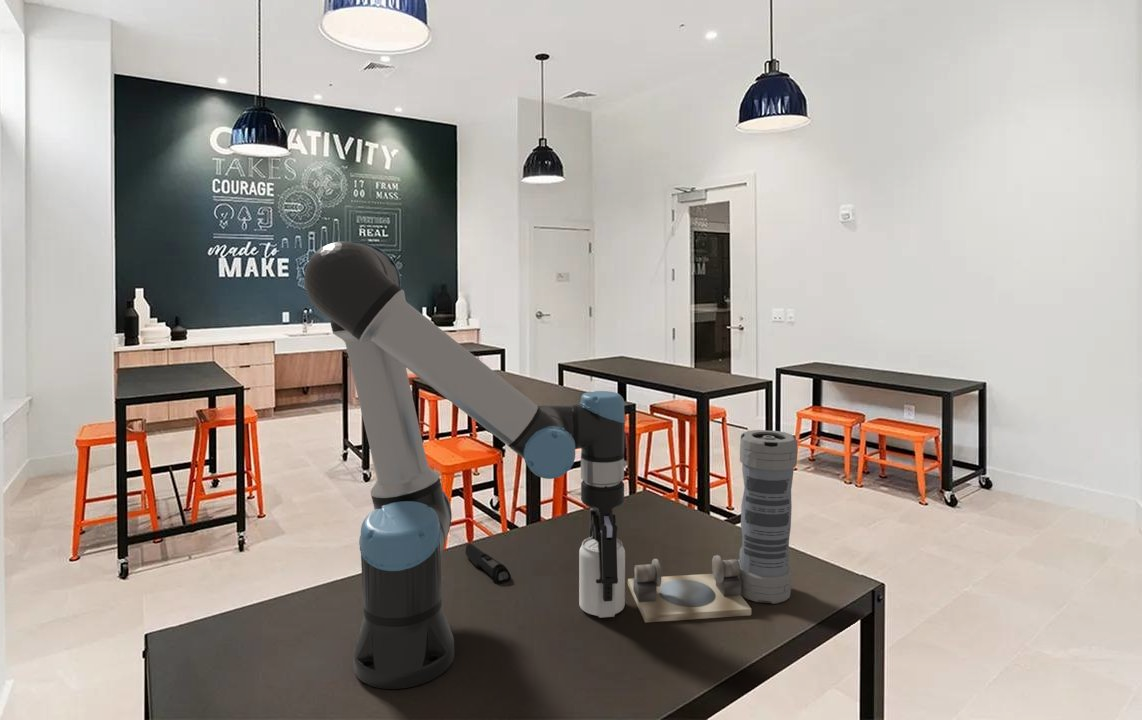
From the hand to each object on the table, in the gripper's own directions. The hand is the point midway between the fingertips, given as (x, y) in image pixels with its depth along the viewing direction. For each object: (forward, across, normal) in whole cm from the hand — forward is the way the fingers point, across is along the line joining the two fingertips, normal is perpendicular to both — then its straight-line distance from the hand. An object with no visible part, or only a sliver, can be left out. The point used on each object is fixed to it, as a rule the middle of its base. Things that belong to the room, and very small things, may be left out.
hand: (602, 603), depth 119 cm
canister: (+1, +2, -31) cm, 31 cm away
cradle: (+1, +1, -16) cm, 16 cm away
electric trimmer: (+1, +18, +21) cm, 28 cm away
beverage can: (+1, 0, 0) cm, 1 cm away
